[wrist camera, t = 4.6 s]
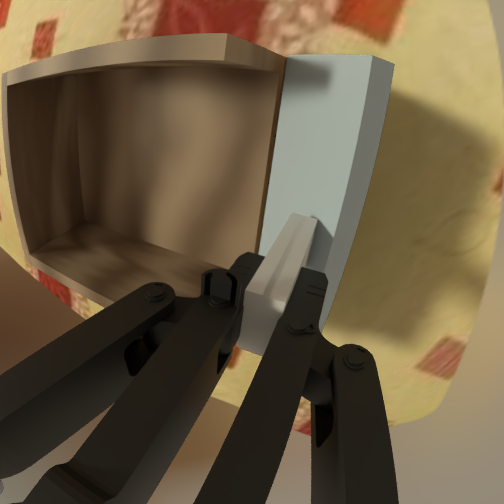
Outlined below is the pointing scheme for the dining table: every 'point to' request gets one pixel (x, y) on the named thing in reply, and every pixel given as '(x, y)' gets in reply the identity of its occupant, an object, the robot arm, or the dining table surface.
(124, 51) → the box
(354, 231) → the door
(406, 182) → the dining table surface
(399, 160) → the dining table surface
